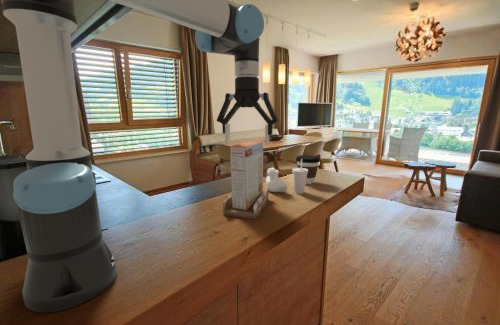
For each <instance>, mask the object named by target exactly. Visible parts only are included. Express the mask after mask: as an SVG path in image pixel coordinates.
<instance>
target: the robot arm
mask: <svg viewBox="0 0 500 325" xmlns="http://www.w3.org/2000/svg"><path fill="white" fill-rule="evenodd" d="M0 1H1V7H2V13H3V14H2V15H3V16H4V17H5V18H6V19H7V20H9V21H10V23H12V24H13V25H14V26H15V31H16V38H17V45H18V50H19V57H20V64H21V69H22V77H23V85H24V92H25V97H26V104H27V110H28V112H27V113H28V117H29V124H30V132H31V139H32V146H33V148H32V150H31V151H30V152H29V153H28V154H27V155H25V161H26V168H27V170H26V169H25V171H23V172H21V173H20V174H18V175H17V176H16V177H15V179H14V180H13V185H12V186H13V192H12V197H13V200H14V202H15V205H16V209H17V213H18V218H19V222H20V226H21V232H22V236H23V239H24V245H25V247H26V248H25V249H26V252H27V253H26V254H27V259H28V261H27V267H26V271H25V276H24V281H23V286H22V289H21V291H22V293H21V294H22V298H23V303H24V305H25V307H26V308H27V309H28V310H29V311H33V312H36V313H54V312H60V311H64V310H68V309H71V308H75V307H77V306H79V305H82V304H84V303H86V302H88V301H90V300H92V299H93V298H95V297H97V296H98V295H100V294H101V293H102V292H104V291H105V290H106V289H108V288H109V287H110V285H111V284H112V283H113V282H114V280H115V279H116V277H117V273H118V269H117V268H118V267H117V262H116V259H115V257H114V255H113V254H112V252H111V250H110V249H109V246H108V245H107V244H106V242H105V240H104V237H103V233H102V224H101V217H100V210H99V203H98V196H97V190H96V188H97V182H96V178H95V177H94V173H93V172H94V171H93V166H92V163H93V162H92V156H91V152H90V151H89V150H88V149H87V148H85V147H83V144H82V133H81V125H80V124H81V123H80V116H79V115H80V114H79V107H78V96H77V88H76V79H75V69H74V60H73V53H72V52H73V50H72V43H71V34H72V33H74V32H75V31H77V30H78V20H77V10H76V8H77V7H76V0H0ZM108 1H110V2H113V3H116V4H119V5H122V6H124V7H128V8H131V9H134V10H136V11H139V12H142V13H145V14H147V15H151V16H155V17H157V18H160V19H163V20H166V21H168V22H171V23H174V24H177V25H181V26H183V27H187V28H189V29H192V30H195V35H194V37H195V38H194V39H195V45H196V47H197V49H198V50H199V51H201V52H205V53H209V54H219V55H227V56H228V55H229V56H234V76H235V78H234V93H230V92H226V93H225V95H224V96H225V97H224V98H225V99H224V102H223V104H222V107H221V109H220V111H219V114H218V116H217V118H216V122H217V123H221V125H222V127H221V128H222V134H223V135H224V136H225V138H224V139H225V141H224V142H225V143H224V144H225V145H228V144H231V124H230V123H229V122H230V120H231V119H232V118H233V116H235V114H236V113H237V111H238V110H239V109H240V108H254V109H255V110H256V111H257V113H258V114H259V115H260V116H261V117H262V118H263V120H264V121H265V123H266V124H265V127H264V129H265V130H264V134H265V135H264V136H265V137H264V145H265V146H266V147H268V146H269V145H270V136H272V135H273V128H274V127H273V125H274V124H277V123H278V122H279V118H278V117H277V114H276V112H275V109H274V108H273V105H272V103H271V101H270V94H269V93H268V92H263V93H260V91H259V90H260V88H259V87H260V84H259V83H260V80H259V78H258V77H259V75H260V65H259V64H260V61H259V60H260V40H261V39H260V37H261V36H262V34H263V32H264V29H265V19H264V16H263V14H262V11H261V10H260V8H259V7H257V6H256V5H255V4H252V3H245V4H243V5H242V4H241V5H240V6H239V7H238V6H236V5H234V4H231V3H228V2H227V1H224V0H108ZM260 99H261V100H262V101H263V102H264V104H265V107H266V108H267V111H268V112H269V115H270V117H269V115H268V113H267V112H265V110H264V109H263V107H262V106H261V104H260V103H259V102H258V101H259V100H260ZM233 100H235V103H234V105H233V106H232V107H231V109H230V110H229V112H228V109H229V108H230V105H231V102H232V101H233ZM227 112H228V113H227Z"/></svg>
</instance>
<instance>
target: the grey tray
mask: <svg viewBox="0 0 500 325" xmlns="http://www.w3.org/2000/svg"><path fill="white" fill-rule="evenodd" d="M269 194H270V191H269V190H268V188H267V187H266V188H265V189H263V193H262V194H261V196H260V197H259V199H258V200H257V201H256V203H255V204H254V205H253V206H252V207H251V208H249V209H248V210H247V211H246V210H241V209H235V208H232V193H231V194H229V195H228V197H227V198H225V199H224V200H223V202H222V215H223V216H225V217H234V218H242V219H249V220H257V219H258V217H260V214H261V212H262V210H263V209H264V208H265V206H266V204H267V202H268V201H269Z"/></svg>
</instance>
